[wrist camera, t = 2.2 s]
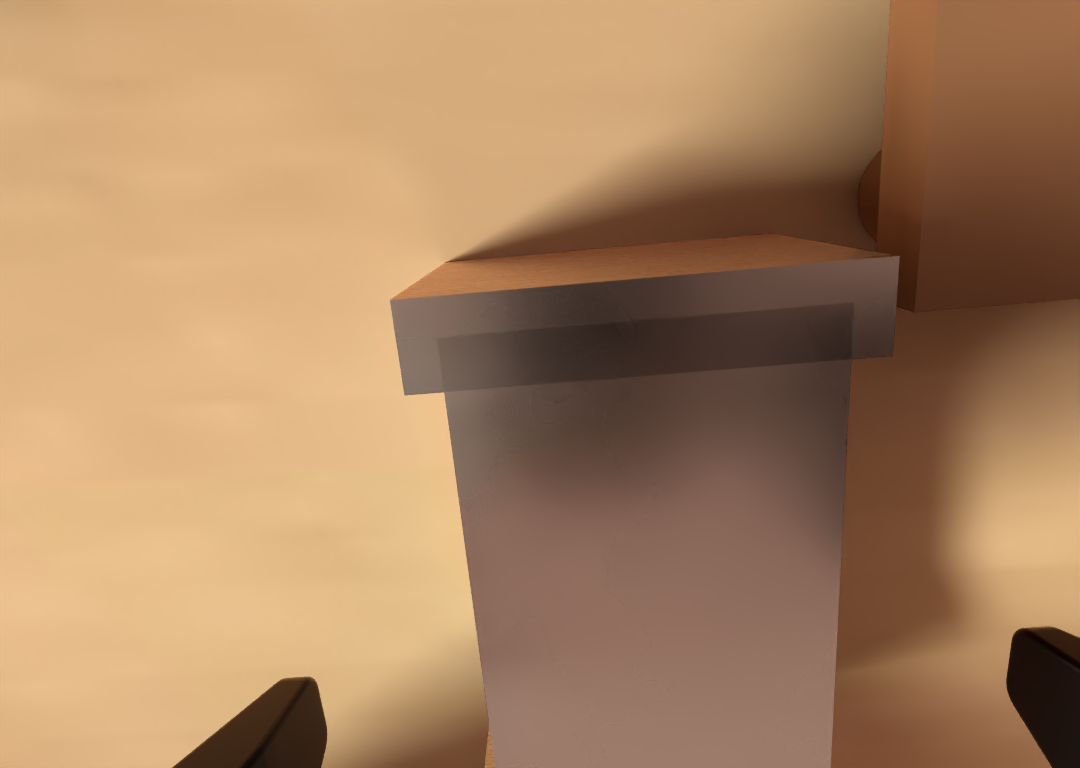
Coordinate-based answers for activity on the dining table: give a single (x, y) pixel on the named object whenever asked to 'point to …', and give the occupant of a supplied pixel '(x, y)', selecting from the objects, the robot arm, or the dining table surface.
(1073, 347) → the dining table surface
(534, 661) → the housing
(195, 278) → the dining table surface
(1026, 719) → the robot arm
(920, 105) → the stand
